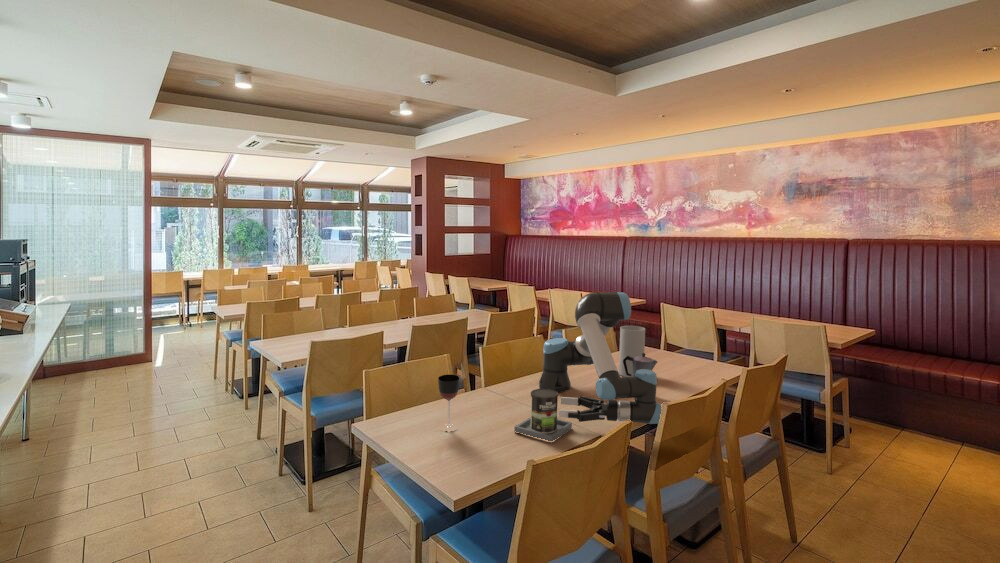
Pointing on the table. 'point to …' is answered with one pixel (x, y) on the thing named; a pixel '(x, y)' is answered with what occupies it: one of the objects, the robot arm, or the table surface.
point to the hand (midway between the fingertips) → (559, 406)
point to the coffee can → (544, 411)
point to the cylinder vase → (630, 346)
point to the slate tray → (525, 429)
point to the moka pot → (640, 363)
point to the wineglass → (448, 389)
